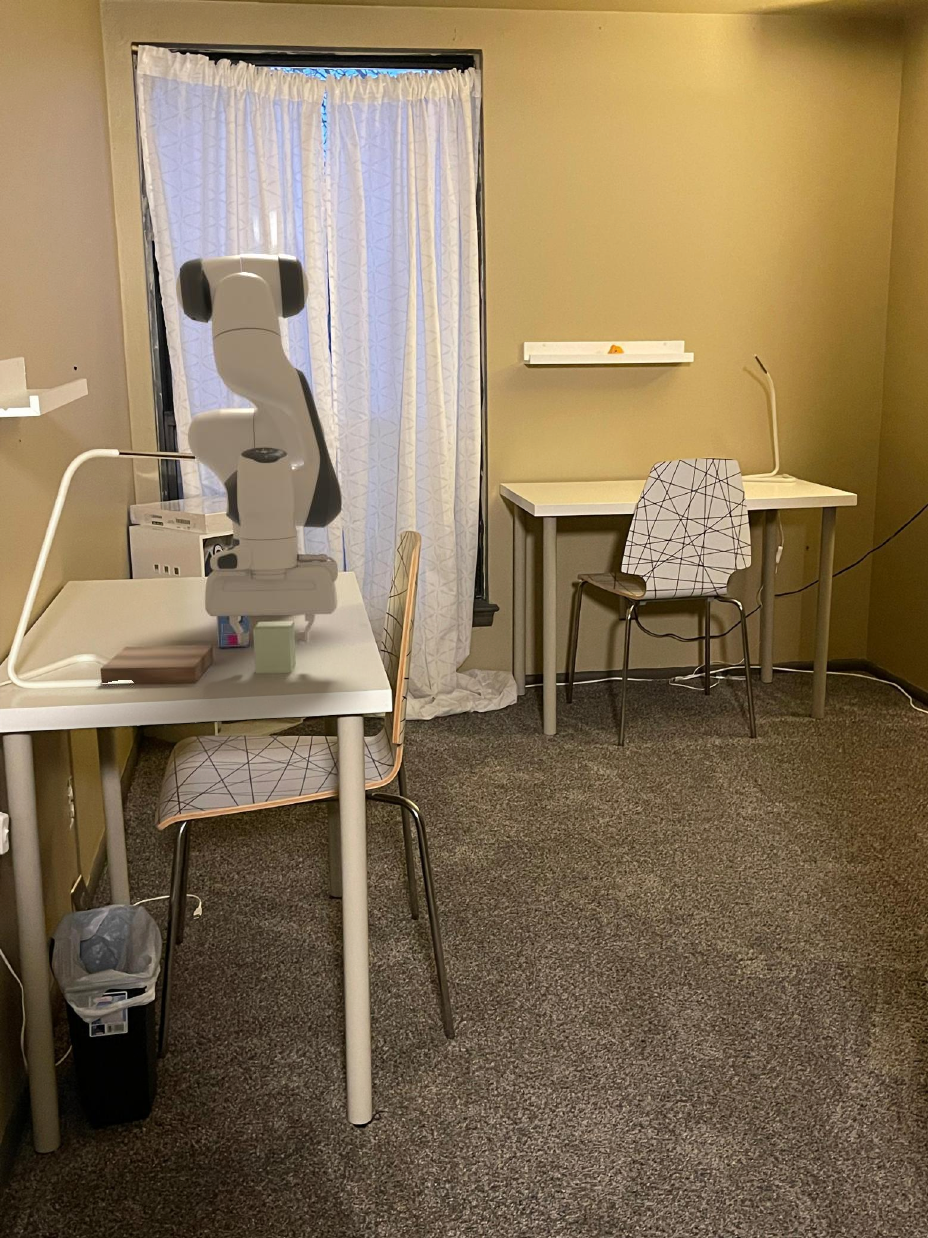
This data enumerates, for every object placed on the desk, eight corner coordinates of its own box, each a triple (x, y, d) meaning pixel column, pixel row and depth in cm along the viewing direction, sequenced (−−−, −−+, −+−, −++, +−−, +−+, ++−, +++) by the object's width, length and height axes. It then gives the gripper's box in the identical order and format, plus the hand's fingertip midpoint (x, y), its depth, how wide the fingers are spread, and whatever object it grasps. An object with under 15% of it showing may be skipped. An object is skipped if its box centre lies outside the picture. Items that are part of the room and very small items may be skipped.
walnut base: (127, 661, 188) (125, 646, 187) (213, 660, 188) (212, 645, 188) (101, 684, 174) (100, 668, 174) (195, 682, 174) (193, 666, 174)
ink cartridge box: (251, 647, 197) (247, 562, 194) (218, 649, 195) (213, 564, 192) (249, 634, 206) (244, 554, 203) (217, 636, 205) (212, 555, 202)
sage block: (261, 664, 185) (258, 621, 184) (295, 664, 185) (293, 621, 184) (255, 673, 180) (253, 629, 178) (291, 672, 180) (288, 628, 178)
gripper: (338, 550, 181) (342, 637, 184) (208, 553, 181) (213, 639, 184) (334, 556, 175) (338, 645, 178) (199, 559, 175) (205, 648, 178)
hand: (273, 642), depth 181 cm, fingers open, 8 cm apart
